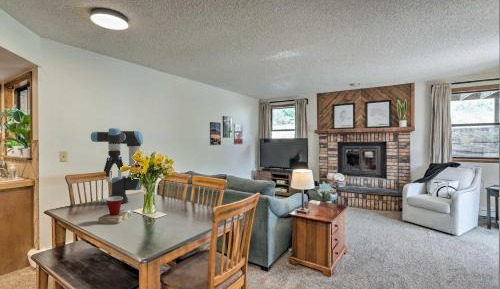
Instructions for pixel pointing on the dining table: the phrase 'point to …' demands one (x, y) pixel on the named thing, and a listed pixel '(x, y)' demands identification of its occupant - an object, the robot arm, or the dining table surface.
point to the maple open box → (113, 218)
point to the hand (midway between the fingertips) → (114, 180)
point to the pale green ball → (126, 211)
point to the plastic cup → (114, 205)
